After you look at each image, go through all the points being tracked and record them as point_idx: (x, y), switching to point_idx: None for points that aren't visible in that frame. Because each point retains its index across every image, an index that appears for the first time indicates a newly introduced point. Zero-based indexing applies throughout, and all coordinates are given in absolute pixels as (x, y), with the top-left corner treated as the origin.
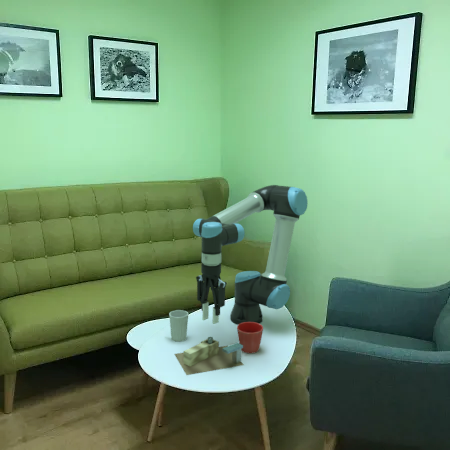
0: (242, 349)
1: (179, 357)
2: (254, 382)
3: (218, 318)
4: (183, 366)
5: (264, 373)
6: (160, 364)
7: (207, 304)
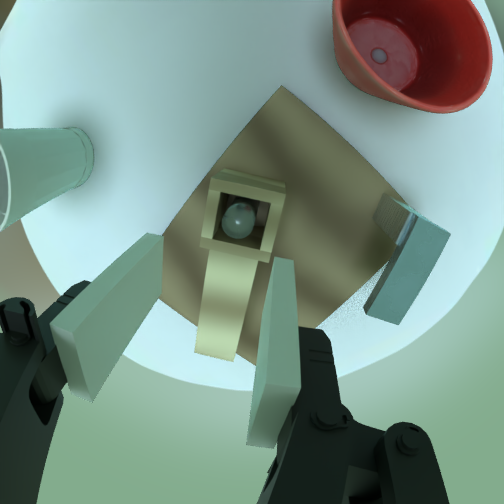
0: (368, 93)
1: (165, 292)
2: (464, 290)
3: (293, 279)
4: None
5: (484, 226)
6: (144, 334)
7: (87, 341)
